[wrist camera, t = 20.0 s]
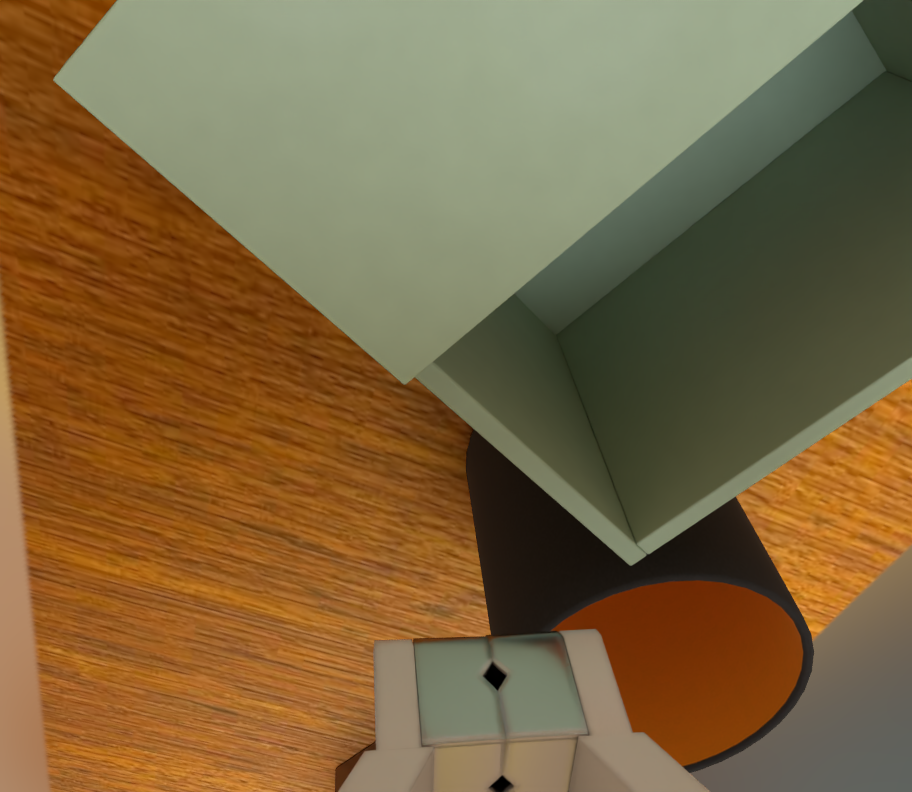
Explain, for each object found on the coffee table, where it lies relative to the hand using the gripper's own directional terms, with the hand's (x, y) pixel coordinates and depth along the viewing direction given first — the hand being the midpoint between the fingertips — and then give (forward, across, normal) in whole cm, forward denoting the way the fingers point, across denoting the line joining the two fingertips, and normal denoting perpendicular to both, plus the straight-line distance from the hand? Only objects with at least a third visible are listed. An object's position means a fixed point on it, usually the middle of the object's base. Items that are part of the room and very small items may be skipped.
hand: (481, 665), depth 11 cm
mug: (+17, -6, +11) cm, 21 cm away
